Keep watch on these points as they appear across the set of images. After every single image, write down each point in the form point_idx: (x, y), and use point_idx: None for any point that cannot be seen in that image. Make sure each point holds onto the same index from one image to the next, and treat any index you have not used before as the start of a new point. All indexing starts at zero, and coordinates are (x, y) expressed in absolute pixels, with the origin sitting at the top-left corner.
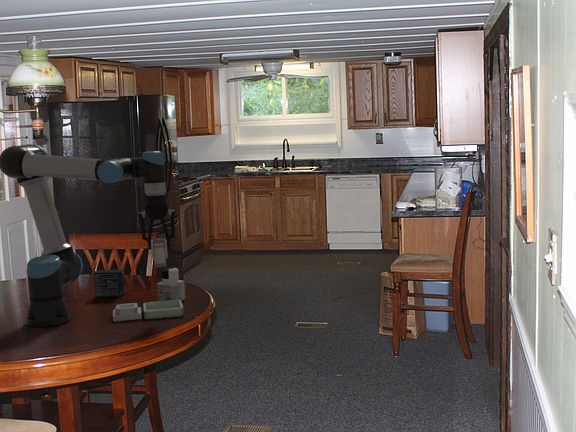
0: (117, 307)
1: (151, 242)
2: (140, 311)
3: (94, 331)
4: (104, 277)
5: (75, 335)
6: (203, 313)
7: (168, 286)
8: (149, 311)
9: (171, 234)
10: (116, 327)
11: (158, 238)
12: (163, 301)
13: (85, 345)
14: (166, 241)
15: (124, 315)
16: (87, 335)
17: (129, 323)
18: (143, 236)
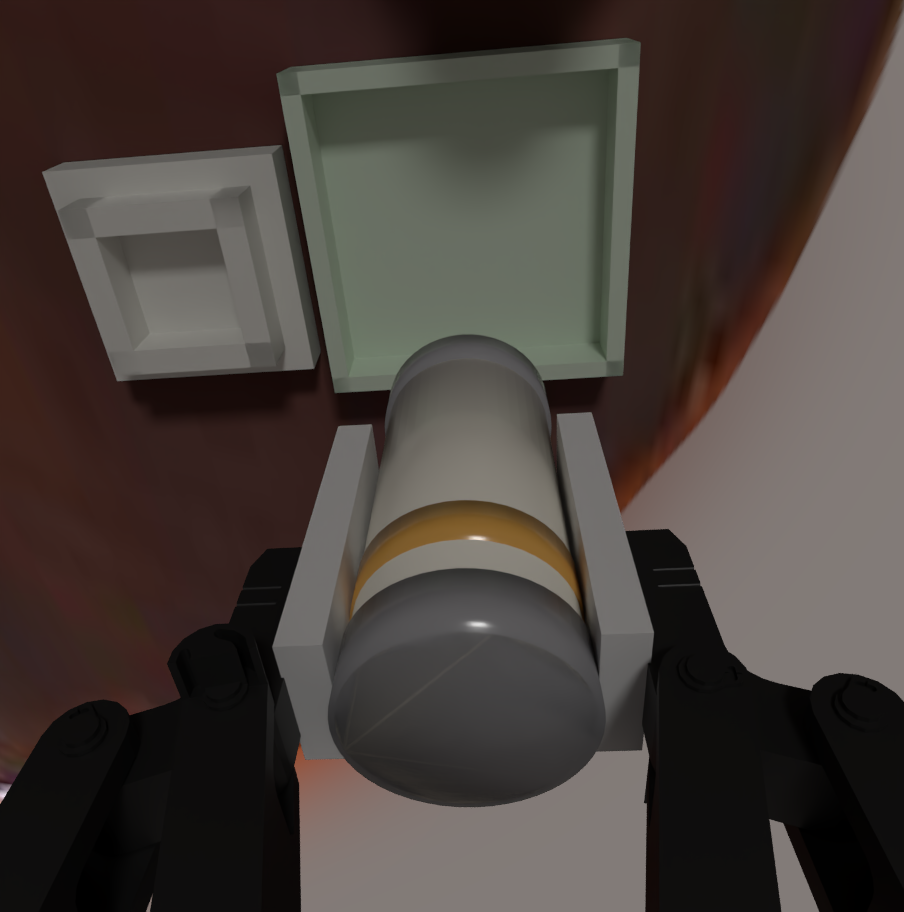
0: (108, 320)
1: (318, 740)
2: (297, 311)
3: (94, 536)
4: None
5: (17, 577)
6: (758, 324)
7: None
8: (374, 390)
9: (811, 862)
10: (199, 495)
11: (460, 638)
12: (469, 77)
13: (141, 711)
14: (633, 730)
15: (197, 374)
16: (85, 590)
17: (259, 435)
18: (107, 881)
